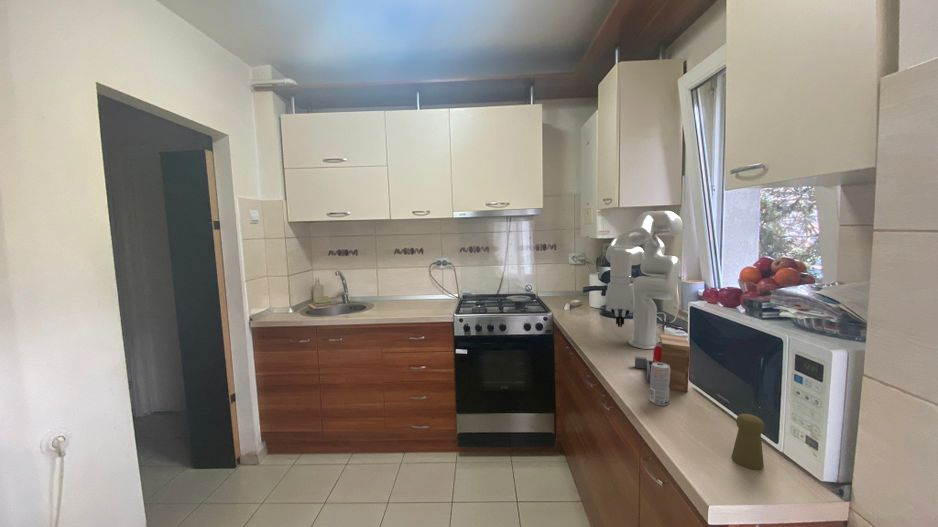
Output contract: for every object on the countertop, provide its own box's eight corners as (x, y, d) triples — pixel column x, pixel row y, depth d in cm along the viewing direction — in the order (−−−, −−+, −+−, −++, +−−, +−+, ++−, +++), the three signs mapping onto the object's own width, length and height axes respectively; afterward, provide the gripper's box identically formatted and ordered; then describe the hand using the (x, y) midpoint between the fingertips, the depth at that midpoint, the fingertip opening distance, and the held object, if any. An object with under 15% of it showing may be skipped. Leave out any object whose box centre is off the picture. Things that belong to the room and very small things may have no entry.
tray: (634, 365, 143) (635, 356, 142) (677, 371, 137) (677, 361, 136) (635, 380, 129) (635, 370, 129) (682, 387, 123) (682, 376, 123)
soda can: (655, 380, 128) (657, 347, 126) (649, 372, 134) (651, 340, 133) (677, 382, 126) (679, 348, 125) (670, 373, 133) (672, 341, 132)
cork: (725, 454, 88) (728, 410, 87) (748, 452, 89) (751, 409, 88) (746, 470, 82) (749, 424, 81) (770, 469, 83) (774, 423, 82)
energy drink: (667, 399, 116) (668, 362, 115) (670, 407, 111) (672, 369, 110) (648, 396, 118) (650, 360, 116) (650, 404, 113) (652, 367, 111)
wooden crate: (658, 374, 135) (660, 333, 133) (683, 378, 131) (685, 336, 130) (660, 387, 124) (662, 343, 122) (687, 392, 121) (690, 346, 119)
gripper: (641, 279, 142) (640, 324, 145) (601, 277, 148) (600, 321, 151) (642, 282, 135) (641, 330, 138) (599, 281, 141) (599, 327, 144)
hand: (620, 325), depth 144 cm, fingers closed
